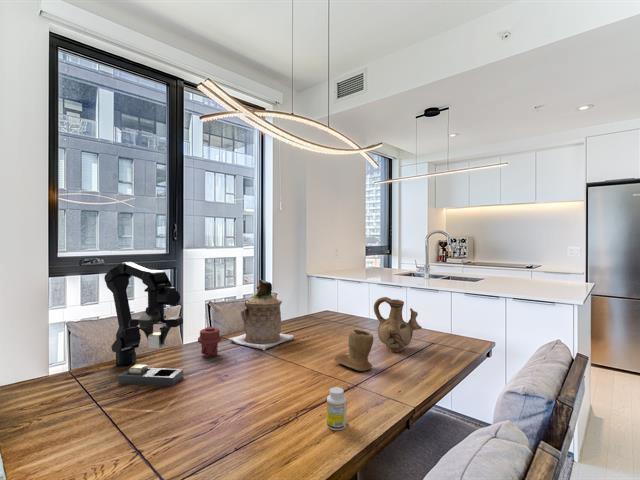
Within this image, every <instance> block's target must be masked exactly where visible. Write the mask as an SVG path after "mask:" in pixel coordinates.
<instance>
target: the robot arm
mask: <svg viewBox="0 0 640 480" xmlns="http://www.w3.org/2000/svg"><path fill="white" fill-rule="evenodd" d="M132 276H133V277H135V278H136V279H137V278H138V279H139V280H141V281H142V282H141V283H143V285H145V286H146V288H145V289H144V291H143V292H145V293H147V307H145V311H144V313H143V314H142V315H141V316H135V317H132V313H131V309H130V304H129V297H128V293H127V289H128V287H129V284H130V278H131V277H132ZM104 282H105V284H106V287H107V289H109V291H111V293H112V296H113V303H114V306H115V312H116V318H117V322H118V323H117V324H118V329H117V331H116V333H115V341H114V342H113V343H112V345H111V348H110V349H111V351H112V352H113V353H115V364H113V367H126V368H128V367H130V366H131V365H134V364H135V363H136V362H138V360H137V352H136V349H138V348H139V347H140V343H141V339H142V335H141V332H140V330H141V331H143V332H144V335H145V337H146V339H147V340H148V336H149V335H150V334H152V333H154V325H162V326H161V327H159V330H160V333H161V344H163V343H164V341H166V338H167V337H168V334H169V332H170V329H171V328H178V327H179V326H181V325H182V324H184V319H183V317H182V316H171V317H169V318H167V315H166V314H165V309H166V308H167V306H170V307H171V306H172V307H174V306H177V305H178V303H180V300H181V295H180V292H179V291H178V290H177V289H176V287H175V286H173V285H172V282H171V281H170V279H169V277H168V275H167V273H166V271H164V270H160V269H150V268H146V267H144V266H141V265H140V264H139V265H138V264H137V263H135V262H133V261H125V262H124V261H123V262H121V263H118V265H116V266H115V267H113V268H112V269H109V270H108V271H107V272H106V273H105V274H104Z"/></svg>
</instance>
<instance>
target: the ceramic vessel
mask: <svg viewBox="0 0 640 480" xmlns="http://www.w3.org/2000/svg"><path fill="white" fill-rule="evenodd" d="M383 303H386V304H388V305H389V306H390V311H389V315H388V318H384V317H383V316H382V315H381V312H380V309H379V308H380V305H382V304H383ZM404 306H405V301H403V300H400V299H391V298H390V297H387V296H383V297H379V298H378V299H377V300H376V301H375V302H374V304H373V312H374V315H375V316H376V318H377V320H378V321H379V324H378V327H377V335H378V339H379V341H380V342H381V343H382V344H384V345H385V346H386V347H385V349H386V348H387V349H388V350H391V351H401V352H403V351H404V350H405V347H407V346H409V345H410V343H411V342H412V340H413V339H412V338H413V334H414V331H416V330H417V331H418V330H421V329H423V328H422V326H421V325H420V324H419V323H418V321H417V317H418V316H419V315H418V312H417V311H414V309H413V308H412V307H410V309H409V311H410V319H409V320H408V322H406V321H405V320H404V318H403V309H404ZM387 349H386V350H387ZM388 350H387V351H388ZM402 350H403V351H402Z"/></svg>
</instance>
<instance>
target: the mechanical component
mask: <svg viewBox="0 0 640 480" xmlns="http://www.w3.org/2000/svg"><path fill="white" fill-rule="evenodd" d="M221 341H222V336H221V334H220V329H219V328H216V327H214V326H207V327H205V328H203V329H201V330H200V331H199V337H197V343H199V344H201V349H200V350H201V352H200V353H201V354H202V355H204V358H206V359H208V358H210V357H213V356H217V355H218V349H219V348H218V347H219V342H221Z"/></svg>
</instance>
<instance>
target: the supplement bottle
mask: <svg viewBox="0 0 640 480" xmlns="http://www.w3.org/2000/svg"><path fill="white" fill-rule="evenodd" d="M326 426H327V428H329V429H330V430H333V431H342V430H344V429H345V428H346V426H347V397H346V395H345V392H344V389H343V388H341V387H339V386H338V387H336V386H335V387H332V388H330V389H329V394H328V396H327V397H326Z"/></svg>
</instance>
